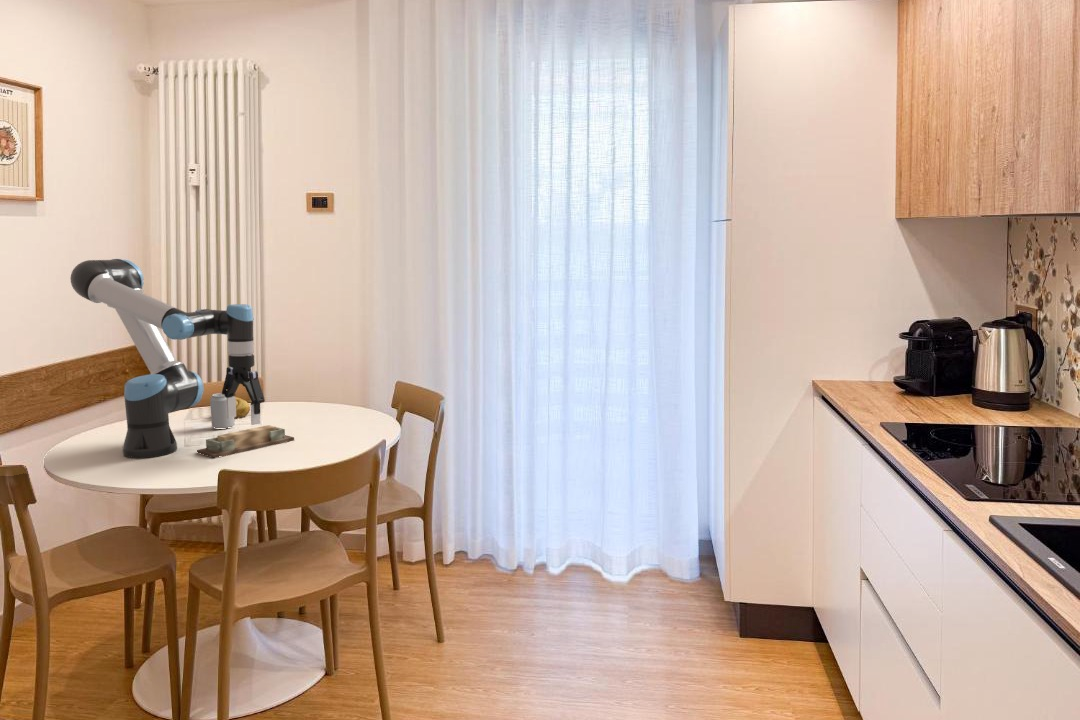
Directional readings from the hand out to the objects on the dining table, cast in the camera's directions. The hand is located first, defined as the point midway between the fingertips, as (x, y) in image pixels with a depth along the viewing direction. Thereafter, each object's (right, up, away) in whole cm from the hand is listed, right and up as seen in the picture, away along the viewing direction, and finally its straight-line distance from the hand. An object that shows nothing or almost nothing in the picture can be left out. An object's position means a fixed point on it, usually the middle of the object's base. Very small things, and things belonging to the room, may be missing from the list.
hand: (243, 420), depth 256 cm
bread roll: (-20, -2, +48) cm, 52 cm away
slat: (+1, -7, +1) cm, 7 cm away
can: (-17, -5, +28) cm, 33 cm away
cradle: (+1, -8, +1) cm, 8 cm away
